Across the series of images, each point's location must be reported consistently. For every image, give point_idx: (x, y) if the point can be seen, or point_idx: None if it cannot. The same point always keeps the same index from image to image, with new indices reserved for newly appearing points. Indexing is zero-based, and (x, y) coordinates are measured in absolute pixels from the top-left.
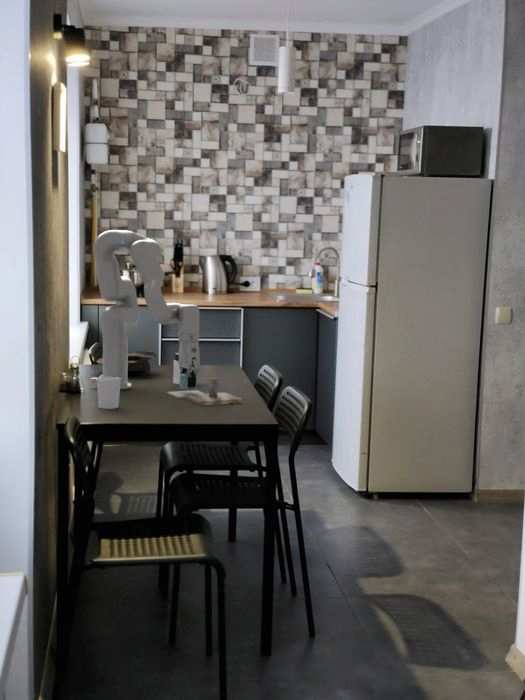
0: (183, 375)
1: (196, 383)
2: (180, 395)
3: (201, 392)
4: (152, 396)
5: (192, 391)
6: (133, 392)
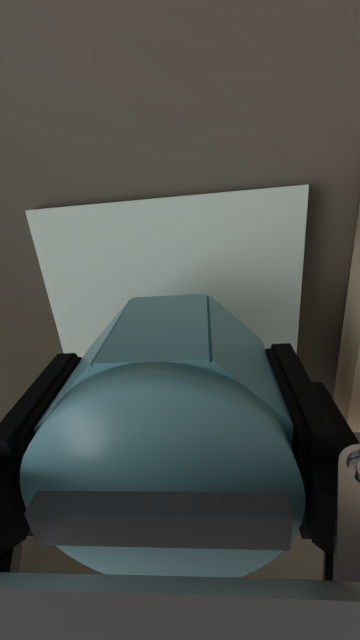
0: (234, 577)
1: (222, 324)
2: None
3: (167, 209)
4: None
5: (98, 280)
6: (40, 568)
